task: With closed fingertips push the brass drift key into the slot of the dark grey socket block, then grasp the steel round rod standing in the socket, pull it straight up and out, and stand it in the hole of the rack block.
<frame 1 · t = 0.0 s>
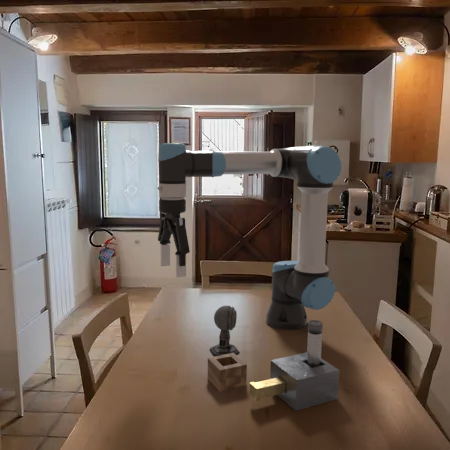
hand: (172, 271, 133), 28 cm above the table, fingers open, 13 cm apart
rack: (226, 381, 126), on the table
drift key: (268, 387, 115), point 4 cm above the table, slide at 5.0 cm
steel round rod: (312, 387, 121), point 1 cm above the table, touching socket
socket: (301, 393, 120), on the table
figurine: (224, 352, 145), on the table
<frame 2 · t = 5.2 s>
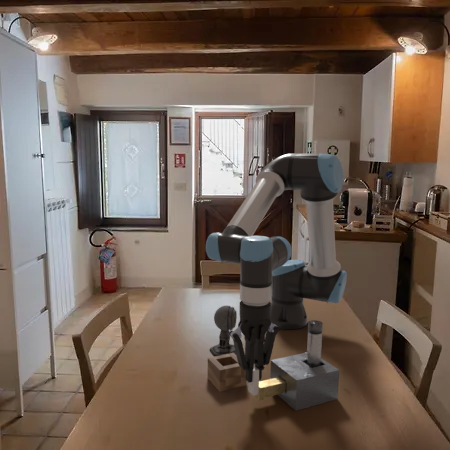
hand: (253, 392, 113), 4 cm above the table, fingers closed
drift key: (271, 387, 115), point 4 cm above the table, slide at 4.1 cm, touching gripper
everything else where it was.
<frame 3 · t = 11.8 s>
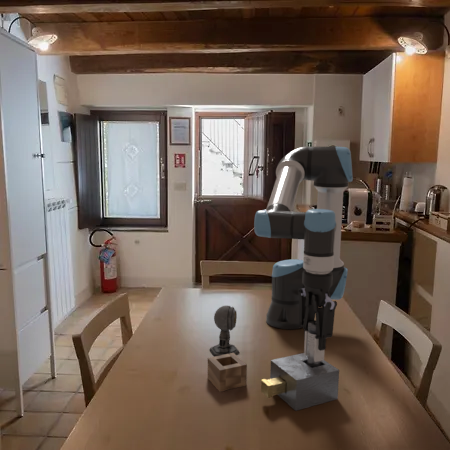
hand: (313, 357, 120), 10 cm above the table, fingers closed on steel round rod, 3 cm apart
drift key: (280, 385, 117), point 4 cm above the table, slide at 1.6 cm
steel round rod: (312, 387, 121), point 1 cm above the table, touching gripper, socket
everything else where it was.
when the fingers open (11 cm above the table, at t = 19.2 s): steel round rod drops 2 cm, resting on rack.
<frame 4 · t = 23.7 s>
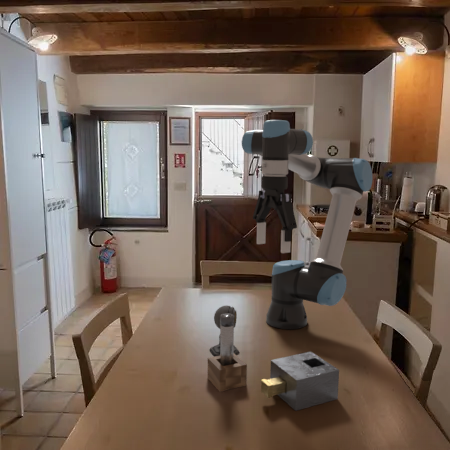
hand: (272, 248, 135), 35 cm above the table, fingers open, 13 cm apart
steel round rod: (226, 378, 126), point 1 cm above the table, touching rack
everything else where it was.
at the end: drift key slide at 1.6 cm; steel round rod 0.0 cm off-centre on the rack, point 1.0 cm above the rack's base; steel round rod tilted 0° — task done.
